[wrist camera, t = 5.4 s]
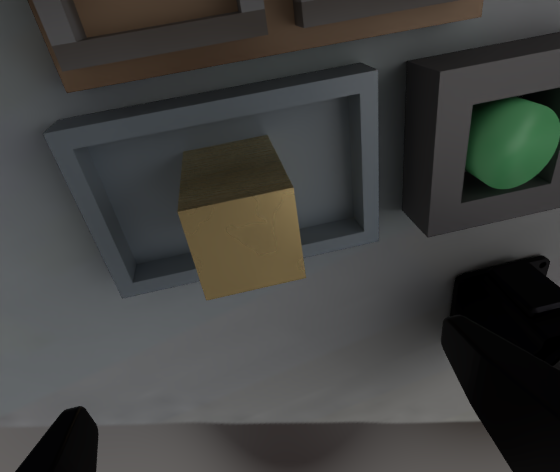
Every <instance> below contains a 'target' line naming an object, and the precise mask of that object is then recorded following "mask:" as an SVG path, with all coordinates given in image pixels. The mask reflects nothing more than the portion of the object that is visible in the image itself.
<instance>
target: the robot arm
mask: <svg viewBox="0 0 560 472" xmlns="http://www.w3.org/2000/svg"><path fill="white" fill-rule="evenodd" d="M549 264H550V261H549V259H547V258H546V257H545V256H537V257H532V258H528V259H524V260H520V261H515V262H511V263H507V264H503V265H498V266H494V267H490V268H485V269H481V270H477V271H473V272H468V273H464V274H461V275H459V276H458V277H457V278H456V279H455V282H454V290H453V298H452V305H451V313H450V317H447V318H445V319H444V321H443V327H442V336H441V344H442V347H443V350H444V352H445V354H446V356H447V358H448V360H449V362H450V364H451V366H452V368H453V370H454V372H455V374H456V376H457V378H458V380H459V382H460V384H461V386H462V388H463V390H464V392H465V394H466V396H467V398H468V400H469V402H470V404H471V406H472V407H473V409H474V411H475V412H476V414H477V416H478V417H479V419H480V420H481V422H482V424H483V425H484V427H485V428H486V430H487V432H488V433H489V435H490V436H491V438H492V439H493V441H494V442H495V444H496V446H497V447H498V449H499V451H500V452H501V454H502V455H503V457H504V459H505V460H506V462H507V463H508V465H509V466H510V468H511V470H512V471H513V472H560V287H559V286H557V285H556V284H555V283H554V282H552V281H551V280H550V279H549V278H548V277H546V275H547V271H548V268H549ZM463 281H464V282H463ZM97 449H98V428H97V425H96V423H95V422H94V420H93V419H92V417H91V416H90V415H89V413H88V412H87V410H86V409H85V408H84V407H82V406H78V407H74V408H70V409H66V410H64V411H63V412H62V413H61V414H60V415H59V417H58V418H57V419H56V420H55V422H54V423H53V424H52V425H51V427H50V428H49V429H48V431H47V432H46V433H45V435H44V436H43V437H42V438H41V440H40V441H39V442H38V443H37V445H36V446H35V447H34V448H33V450H32V451H31V452H30V454H29V455H28V456H27V457H26V459H25V460H24V461H23V462H22V464H21V465H20V466H19V467H18V469H17V470H16V471H15V472H96V464H97Z"/></svg>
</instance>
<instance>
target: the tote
mask: <svg viewBox="0 0 560 472" xmlns="http://www.w3.org/2000/svg"><path fill="white" fill-rule="evenodd" d="M43 135H44V138H45V140H46V142H47V144H48V146H49V148H50V150H51V152H52V154H53V156H54V158H55V160H56V162H57V164H58V166H59V169H60V171H61V173H62V175H63V177H64V179H65V181H66V183H67V185H68V187H69V189H70V191H71V193H72V195H73V198H74V200H75V202H76V204H77V206H78V208H79V210H80V212H81V214H82V216H83V218H84V220H85V222H86V224H87V227H88V229H89V231H90V233H91V235H92V237H93V239H94V241H95V243H96V245H97V247H98V249H99V251H100V253H101V256H102V258H103V260H104V262H105V264H106V266H107V268H108V270H109V272H110V274H111V276H112V278H113V280H114V282H115V285H116V287H117V289H118V291H119V293H120V295H121V297H122V298H127V297H131V296H136V295H140V294H145V293H149V292H154V291H158V290H163V289H167V288H172V287H176V286H180V285H185V284H189V283H194V282H198V281H200V279H199V276H198V273H197V270H196V267H195V264H194V261H193V258H192V255H191V252H190V249H189V246H188V243H187V240H186V237H185V234H184V231H183V228H182V225H181V221H180V218H179V215H178V212H177V211H178V200H179V190H180V179H181V169H182V158H183V152H184V151H189V150H194V149H199V148H204V147H209V146H214V145H219V144H224V143H229V142H234V141H239V140H244V139H249V138H254V137H259V136H264V135H268V137H269V139H270V141H271V143H272V145H273V147H274V149H275V151H276V153H277V155H278V157H279V159H280V161H281V163H282V165H283V167H284V169H285V171H286V173H287V175H288V177H289V179H290V181H291V183H292V185H293V187H294V194H295V201H296V209H297V216H298V223H299V231H300V238H301V245H302V253H303V258H306V257H310V256H315V255H319V254H324V253H328V252H333V251H337V250H341V249H346V248H350V247H355V246H359V245H364V244H368V243H373V242H377V241H379V159H378V70H377V69H375V68H372V67H370V66H368V65H365V64H363V63H358V64H352V65H347V66H342V67H336V68H331V69H326V70H320V71H315V72H310V73H305V74H299V75H294V76H289V77H283V78H278V79H273V80H267V81H262V82H257V83H251V84H246V85H241V86H236V87H230V88H225V89H220V90H214V91H209V92H204V93H198V94H193V95H188V96H183V97H177V98H172V99H167V100H161V101H156V102H151V103H145V104H140V105H135V106H130V107H124V108H119V109H114V110H108V111H103V112H98V113H92V114H87V115H82V116H77V117H71V118H66V119H61V120H58V121H56V122H55V123H54V124H53V125H52V126H51V127H50V128H49V129H48V130H46V131H45V132H44V133H43Z"/></svg>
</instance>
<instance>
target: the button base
mask: <svg viewBox="0 0 560 472" xmlns="http://www.w3.org/2000/svg"><path fill="white" fill-rule="evenodd" d="M519 95H524V96H523V99H525V100H529V101H532V102H535V103H538V104H541V105H544V106H547V107H549V108H550V109H552V110H553V111H554V112H555V114H556V115H557V117H558V119H559V122H560V32H558V33H552V34H547V35H542V36H537V37H531V38H526V39H521V40H516V41H510V42H505V43H500V44H494V45H489V46H484V47H479V48H473V49H468V50H463V51H458V52H452V53H447V54H442V55H437V56H431V57H426V58H421V59H416V60H410V61H407V71H406V103H405V134H404V165H403V197H402V211H403V212H404V213H405V214H406V215H407V216H408V217H409V218H410V219H411V220H412V221H413V222H414V223H415V224H416V226H417V227H418V228H419V229H420V230H421V231H422V232H423V233H424V234H425V235H426V236H427V237H432V236H436V235H441V234H445V233H450V232H454V231H458V230H463V229H467V228H472V227H476V226H481V225H485V224H490V223H494V222H498V221H503V220H507V219H512V218H516V217H521V216H525V215H530V214H534V213H538V212H543V211H547V210H552V209H556V208H560V138H559V142H558V146H557V148H556V150H555V152H554V154H553V156H552V158H551V159H550V161H549V162H548V163H547V165H546V166H545V167H544V168H543V169H542V170H541V171H540V172H539V173H538V174H537V175H536V176H535V177H533V178H532V179H531V180H529V181H527V182H526V183H524V184H522V185H520V186H517V187H514V188H510V189H496V188H492V187H490V186H488V185H487V184H485V183H484V182H482V181H481V180H479V179H478V178H476V177H475V176H473V175H472V174H470V173H469V172H465V164H466V156H467V148H468V140H469V132H470V124H471V116H472V108H473V105H474V104H479V103H484V102H489V101H494V100H499V99H504V98H509V97H514V96H519Z"/></svg>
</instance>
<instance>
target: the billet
mask: <svg viewBox="0 0 560 472" xmlns="http://www.w3.org/2000/svg"><path fill="white" fill-rule="evenodd" d="M177 212H178V215H179V218H180V221H181V225H182V228H183V231H184V234H185V237H186V240H187V243H188V246H189V249H190V252H191V255H192V258H193V261H194V264H195V267H196V270H197V273H198V276H199V279H200V282H201V286H202V289H203V292H204V295H205V298H206V300H211V299H215V298H220V297H224V296H228V295H233V294H237V293H242V292H246V291H250V290H255V289H259V288H263V287H268V286H272V285H277V284H281V283H285V282H290V281H294V280H299V279H303V278H306V275H305V267H304V260H303V253H302V245H301V238H300V231H299V223H298V216H297V209H296V201H295V194H294V187H293V185H292V183H291V181H290V179H289V177H288V175H287V173H286V171H285V169H284V167H283V165H282V163H281V161H280V159H279V157H278V155H277V153H276V151H275V149H274V147H273V145H272V143H271V141H270V139H269V137H268V135H264V136H259V137H254V138H249V139H244V140H239V141H234V142H229V143H224V144H219V145H214V146H209V147H204V148H199V149H194V150H189V151H184V152H183V158H182V169H181V179H180V190H179V200H178V211H177Z"/></svg>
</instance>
